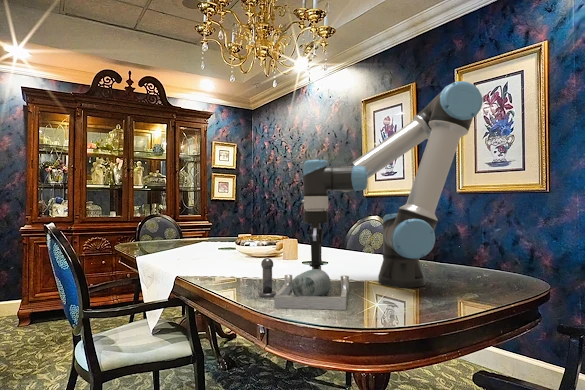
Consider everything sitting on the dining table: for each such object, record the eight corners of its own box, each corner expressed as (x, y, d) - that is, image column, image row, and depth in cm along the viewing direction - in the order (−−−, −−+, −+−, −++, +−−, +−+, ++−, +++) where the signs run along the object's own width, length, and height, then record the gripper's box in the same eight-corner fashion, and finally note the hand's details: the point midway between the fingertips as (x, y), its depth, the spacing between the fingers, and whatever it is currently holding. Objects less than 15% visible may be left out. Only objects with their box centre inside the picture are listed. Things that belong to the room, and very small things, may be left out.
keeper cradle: (349, 292, 120) (348, 275, 120) (348, 310, 100) (347, 290, 100) (285, 290, 123) (285, 274, 123) (272, 307, 103) (271, 288, 103)
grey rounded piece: (315, 295, 103) (306, 259, 108) (288, 307, 107) (280, 272, 112) (343, 298, 113) (333, 265, 118) (317, 309, 117) (309, 277, 122)
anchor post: (277, 293, 119) (277, 257, 119) (274, 297, 114) (273, 259, 114) (261, 293, 120) (261, 256, 120) (257, 297, 115) (257, 259, 115)
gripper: (306, 210, 129) (307, 283, 128) (301, 210, 116) (302, 291, 115) (329, 209, 128) (330, 283, 127) (326, 210, 115) (328, 292, 114)
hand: (316, 287), depth 121 cm, fingers closed
